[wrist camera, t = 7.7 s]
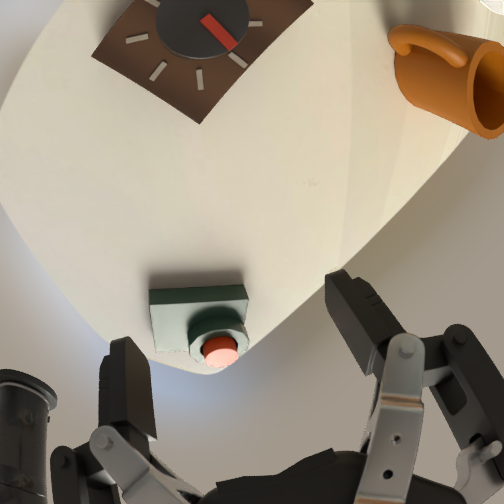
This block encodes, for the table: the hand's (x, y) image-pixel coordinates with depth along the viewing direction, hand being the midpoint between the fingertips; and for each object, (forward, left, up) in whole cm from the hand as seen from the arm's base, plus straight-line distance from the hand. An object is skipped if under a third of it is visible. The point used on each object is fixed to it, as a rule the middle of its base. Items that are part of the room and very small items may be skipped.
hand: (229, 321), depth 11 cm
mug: (+19, +14, -16) cm, 29 cm away
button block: (+1, -16, -16) cm, 23 cm away
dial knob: (-1, +11, -13) cm, 17 cm away
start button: (+3, -18, -12) cm, 22 cm away
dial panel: (-1, +12, -16) cm, 20 cm away
